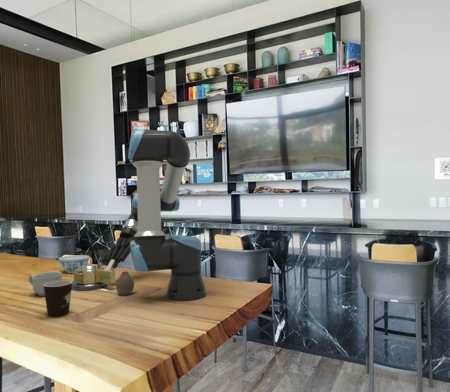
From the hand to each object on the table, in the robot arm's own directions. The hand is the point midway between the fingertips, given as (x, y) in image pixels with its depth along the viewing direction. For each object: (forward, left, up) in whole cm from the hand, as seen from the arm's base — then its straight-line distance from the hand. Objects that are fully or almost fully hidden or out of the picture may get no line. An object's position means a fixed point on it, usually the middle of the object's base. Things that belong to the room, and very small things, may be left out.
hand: (107, 274), depth 153 cm
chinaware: (+38, +23, -6) cm, 44 cm away
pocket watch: (+20, +9, -6) cm, 22 cm away
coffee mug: (-33, +9, -6) cm, 35 cm away
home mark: (-6, 0, -6) cm, 8 cm away
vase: (-13, -9, -6) cm, 17 cm away
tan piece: (0, +5, -3) cm, 6 cm away
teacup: (-6, +24, -6) cm, 25 cm away
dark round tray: (+3, +8, -6) cm, 10 cm away
